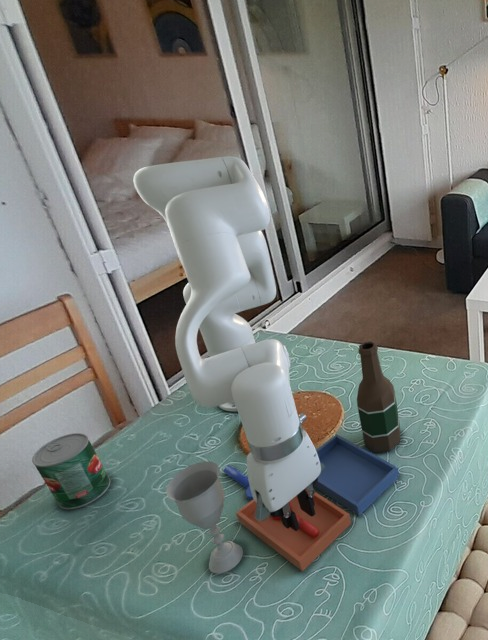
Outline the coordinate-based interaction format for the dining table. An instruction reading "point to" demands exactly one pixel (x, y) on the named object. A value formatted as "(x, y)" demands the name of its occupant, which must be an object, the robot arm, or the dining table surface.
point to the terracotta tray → (298, 543)
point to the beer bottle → (377, 403)
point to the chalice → (205, 509)
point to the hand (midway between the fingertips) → (300, 518)
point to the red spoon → (303, 525)
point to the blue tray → (353, 474)
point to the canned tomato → (72, 470)
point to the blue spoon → (239, 479)
